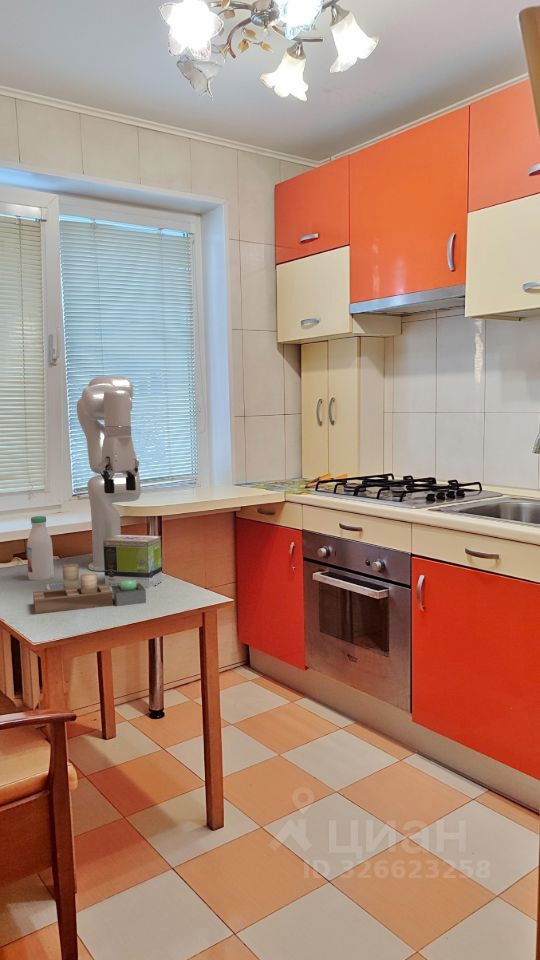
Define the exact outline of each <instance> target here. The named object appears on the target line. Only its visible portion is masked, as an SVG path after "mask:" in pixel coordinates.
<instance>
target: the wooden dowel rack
mask: <svg viewBox="0 0 540 960" xmlns="http://www.w3.org/2000/svg"><path fill="white" fill-rule="evenodd" d="M32 598H33V599H32V601H33V607H34V613H35V615H40V614H49V613H58V612H59V613H60V612H67V611H68V612H69V611H75V610H85V609H93V608H94V609H95V608H103V607H111V606H113V605H114V604H113V603H114V602H113V599H112V589H111V588H110V586H107V584H105V583H104V584H97V593H88V594H81V587H74V588H65V589H55V590H47V589H46V590H38V591H37V590H36V591H33V592H32Z"/></svg>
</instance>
